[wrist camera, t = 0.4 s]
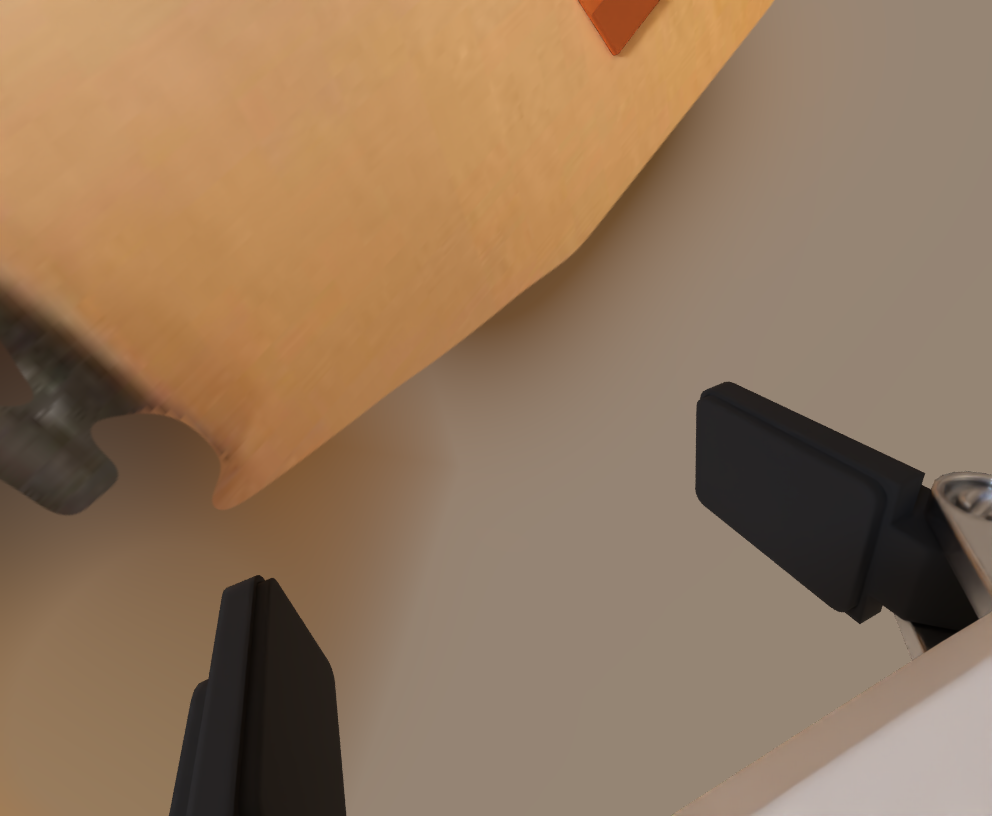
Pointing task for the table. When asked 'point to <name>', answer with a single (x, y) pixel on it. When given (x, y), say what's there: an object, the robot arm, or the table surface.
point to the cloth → (617, 19)
